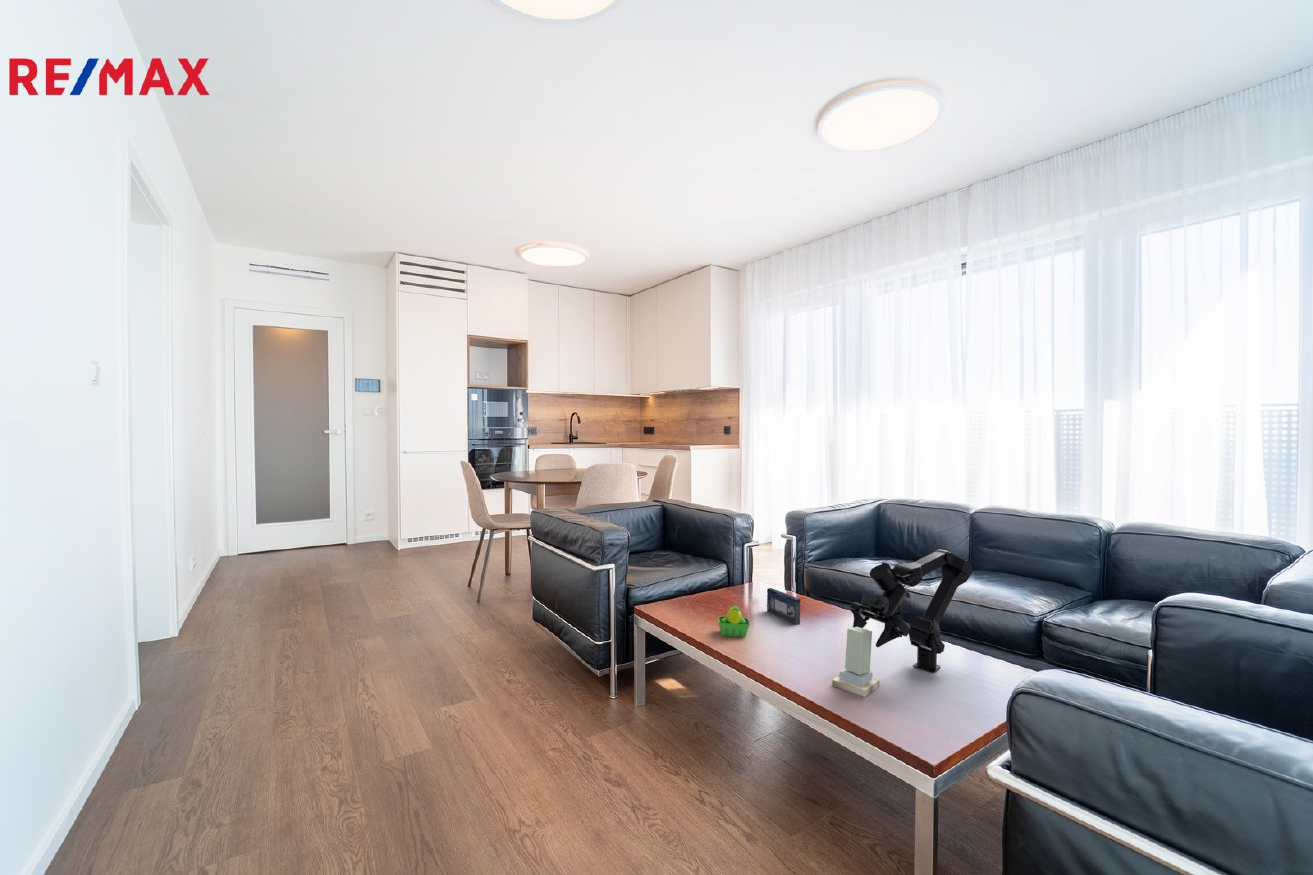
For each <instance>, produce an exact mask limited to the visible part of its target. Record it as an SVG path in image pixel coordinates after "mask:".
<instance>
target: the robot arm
mask: <svg viewBox="0 0 1313 875" xmlns="http://www.w3.org/2000/svg"><path fill="white" fill-rule="evenodd" d="M939 568H941V569H940V571H941V572H940V573H941V577H942V579H941V581H940V583H939V585H938V586H937V589H936V591H935V592H934V594H933V597H932V598H931V600H930V602H929V605H928V606H927V608H926V610H925V612H924V614H923V615H922V616H920V617H919V616H915V617H914V618H913V620H912V622H911V623H910V625H908V624H907V623H906V622H905V620H904V618H902V617H899V616H897V615H894V614H895V613H899V612H900V608H899V606H900V605H901V603H902V601H903V599H904V598H907V599H910V598H911V595H910V592H909V588H906V587H905V586H908V587H911V588H914V587H916V586H917V585H919V584H920V583H921V582H922V581H923V578H924V576H926V575H928V574H929V573H932V572H933V571H936V570H937V569H939ZM973 568H974V567H973V566H972V564H971V562H970V561H969V560H965V559H963V558H961V557H959V556H957V555H956V554H954V553H953V552H951V551H950V550H945V549H936V550H934V551H933V552H931V553H929V554H928V555H926V556H924V557H921V558H919V559H918V560H916V561H914V562H913V561H912V562H904V563H899V564H896V565H895V566H894V567H893V568H892V567H891V565H890V564H889V563H888V562H884V561H883V562H882V563H881V564H878V565H875V566H874V567H872V568H871V569H870V571H869V576H870V578H871V580H872V581H873V582H874V583H875V584H876V586H877V587H878V588H879V590H881V591H883V592H881V594H877V595H873V594H870V593H867V592H863V596H862V598H861V602H860V603H859V602H857V601H854V602H851V604H850V605H849V608H848V609H849V610H850V612H851V613H852V614H853V623H852V628H853V627H860V628H863V629H864V627H865V626H866V625H867V624H868V622H867V621H869V620H870V619H871V620H874V621H876V622H877V621H878V622H879V623H883V625H884V628H883V631H882V632H881V634H880V636H879V637H878V639H877V641H876V643H875V646H876V648H880V647H882V646H883V645H885V644H887V643H890V642H891V641H893V640H895V639H899V638H902V637H908V638H909V641H910V645H911V646H914V647H916V648H917V649H916V650H917V651H916V662H915V663H914V664H912V667H913V668H917V669H919V670H923V671H926V672H930V673H933V674H934V673H936V672H937V671H938V670H939V669H941V665H939V664H937V663H938V661H937V660H938V659H937V658H938V655H939V654H942V653H943V652H944V651H945V646H946V645H945V643H944V642H943V641H942V640H941V638H940V636H941V627H940V623H941V621H942V619H943V618H944V615H945V613H946V611H947V609H948V607H949V605H950V603H951V601H952V599H953V597H954V596H955V593H956V591H957V589H958V588H959V586H962V585H963V584H965V583H966V582H967V581H968V580H969V579H970V577H971V576H972V574H973V571H974V570H973ZM864 604H865V605H867V607H866V606H865V605H864ZM867 608H868V609H867Z"/></svg>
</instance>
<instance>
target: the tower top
mask: <svg viewBox="0 0 1313 875" xmlns="http://www.w3.org/2000/svg"><path fill="white" fill-rule="evenodd" d="M839 675H840V680H842V681H845V682H848V683H851V684H854V685H857V686H860V687H864V686H865V685H866V684H868V683H869V682H870V681H871V680H872V678H873V671H872V670H870V672H869V673H865V674H861V675H859V674H856V673H854V672H851V671H849V670H846V669H845V667H844V668H842V669H841V670H840V671H839Z"/></svg>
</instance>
